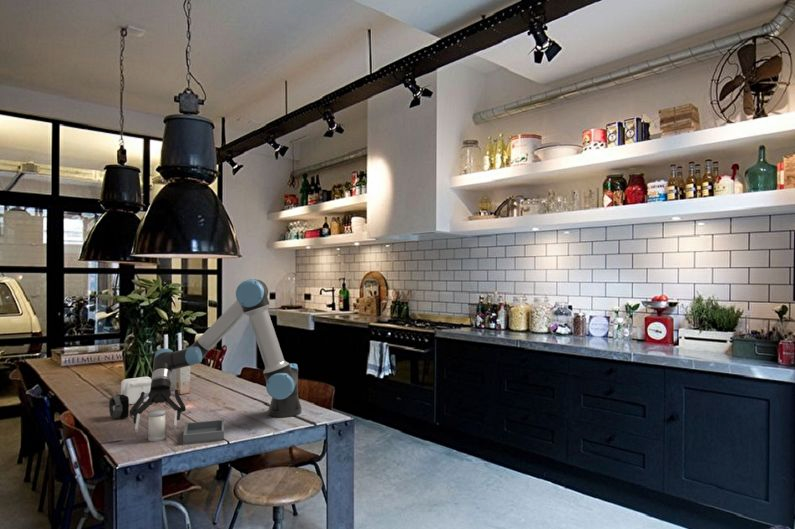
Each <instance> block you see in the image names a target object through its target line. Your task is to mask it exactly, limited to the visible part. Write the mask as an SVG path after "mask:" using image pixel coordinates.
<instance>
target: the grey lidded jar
mask: <svg viewBox="0 0 795 529" xmlns="http://www.w3.org/2000/svg"><path fill="white" fill-rule="evenodd" d="M147 424H148V428H147V429H148V431H147V432H148V437H147V438H148V439H147V440H148V442H150V443H157V442H162V441H164V440H165V439H166V409H164V408H158V409H151V410H149V411H148V423H147Z"/></svg>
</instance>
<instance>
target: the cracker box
mask: <svg viewBox="0 0 795 529" xmlns="http://www.w3.org/2000/svg"><path fill="white" fill-rule="evenodd" d="M176 389H177V390H178V395H180V394H181V395H186V394H190V393H191V366H186V367H182V368H178V369H174V370H172V376H171V388H170V391H171V392H172V391H175V390H176Z"/></svg>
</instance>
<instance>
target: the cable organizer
mask: <svg viewBox="0 0 795 529" xmlns="http://www.w3.org/2000/svg"><path fill="white" fill-rule="evenodd" d="M151 380H152V377H149V376H141V377H133V378H125V379H122V381H121V382H120V395H122V394H123V395H125V396H127V397H128V399H129V401H128V402H129V405H130V404H135V403H136V402H137V400H138V399H139V398H140V395H141V393H142V392H144V393H149V392H150V388H151ZM148 399H149V397H146V399H144V401H143V402H142V403H145V402H146V401H147V400H148Z"/></svg>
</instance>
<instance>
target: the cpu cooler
mask: <svg viewBox="0 0 795 529" xmlns="http://www.w3.org/2000/svg"><path fill="white" fill-rule="evenodd" d="M128 401H129V399H128V397H127V396H125V395H123V394H122V395H121V394H118V395H115V396H112V397H110V398H109V403H108V404H109V405H108V408H109V409H108V411H109V414H110V418H111V419H112V420H116V419H127V418H129V415H130V413H129V411H130V406H129V405H130V404H129V402H128Z"/></svg>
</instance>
